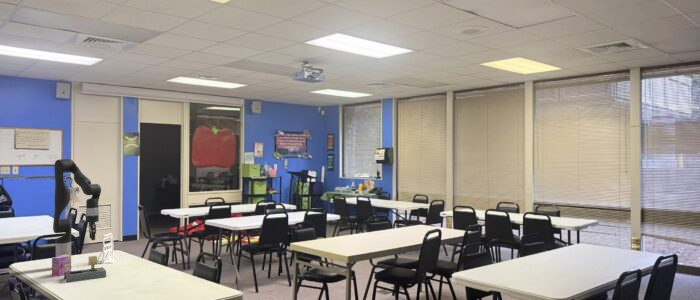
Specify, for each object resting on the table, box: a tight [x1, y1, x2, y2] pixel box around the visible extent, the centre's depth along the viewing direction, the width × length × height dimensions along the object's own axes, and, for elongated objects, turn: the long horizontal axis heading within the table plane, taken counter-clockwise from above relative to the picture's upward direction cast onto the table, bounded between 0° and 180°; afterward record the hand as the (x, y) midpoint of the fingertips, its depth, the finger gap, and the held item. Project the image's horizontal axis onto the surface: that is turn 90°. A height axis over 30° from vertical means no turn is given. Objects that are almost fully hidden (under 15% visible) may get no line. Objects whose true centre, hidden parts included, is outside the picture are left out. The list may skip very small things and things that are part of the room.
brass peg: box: [88, 255, 98, 269], centre depth 320 cm, size 5×5×10 cm
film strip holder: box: [97, 232, 123, 265], centre depth 355 cm, size 14×14×20 cm
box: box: [51, 254, 72, 277], centre depth 317 cm, size 10×6×12 cm, turn 168°
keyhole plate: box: [63, 267, 107, 283], centre depth 307 cm, size 22×12×4 cm, turn 126°
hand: (92, 239), depth 320 cm, fingers open, 8 cm apart
